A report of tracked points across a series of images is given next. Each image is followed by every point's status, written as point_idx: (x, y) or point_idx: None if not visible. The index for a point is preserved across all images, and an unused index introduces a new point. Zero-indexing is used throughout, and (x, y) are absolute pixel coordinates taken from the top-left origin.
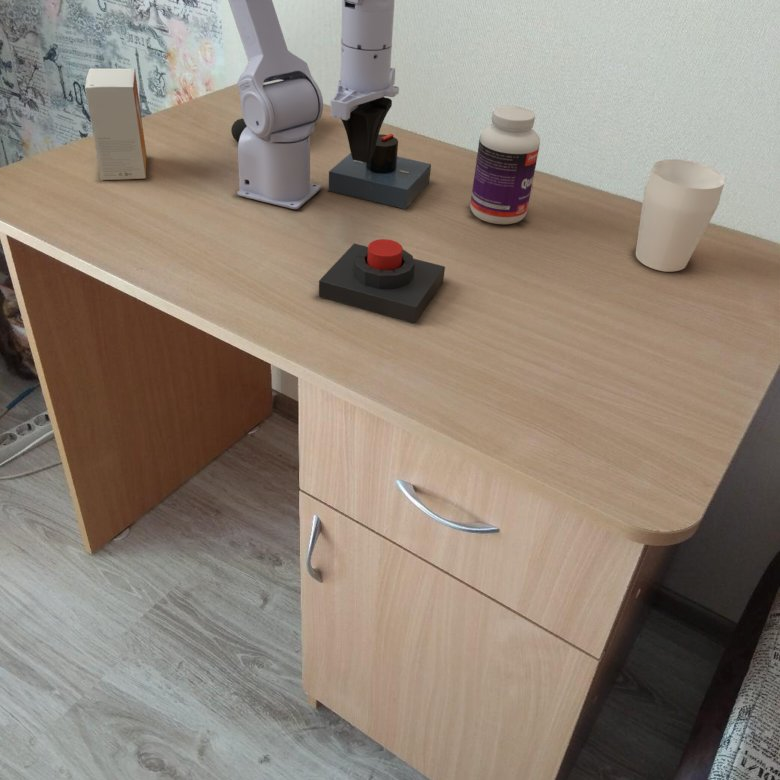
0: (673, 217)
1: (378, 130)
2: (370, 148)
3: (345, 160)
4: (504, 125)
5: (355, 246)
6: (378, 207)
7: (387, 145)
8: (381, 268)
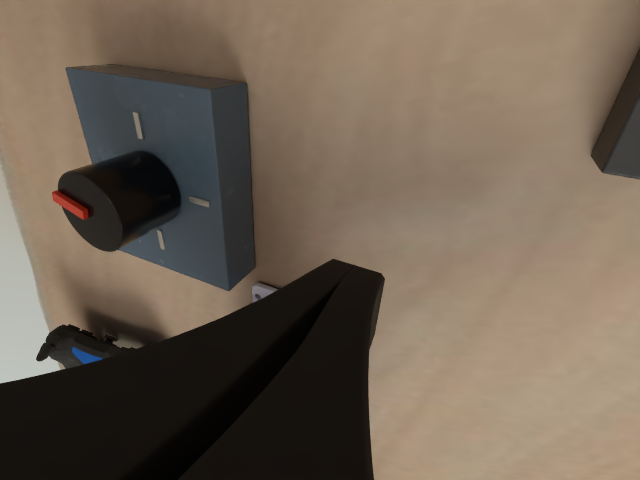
0: None
1: (230, 341)
2: (368, 318)
3: (171, 264)
4: None
5: (635, 162)
6: (268, 154)
7: (102, 196)
8: None
